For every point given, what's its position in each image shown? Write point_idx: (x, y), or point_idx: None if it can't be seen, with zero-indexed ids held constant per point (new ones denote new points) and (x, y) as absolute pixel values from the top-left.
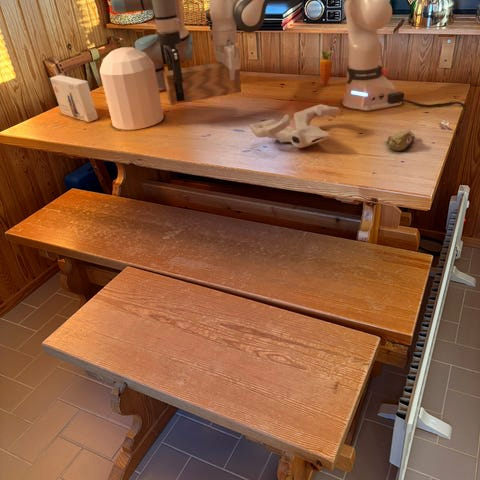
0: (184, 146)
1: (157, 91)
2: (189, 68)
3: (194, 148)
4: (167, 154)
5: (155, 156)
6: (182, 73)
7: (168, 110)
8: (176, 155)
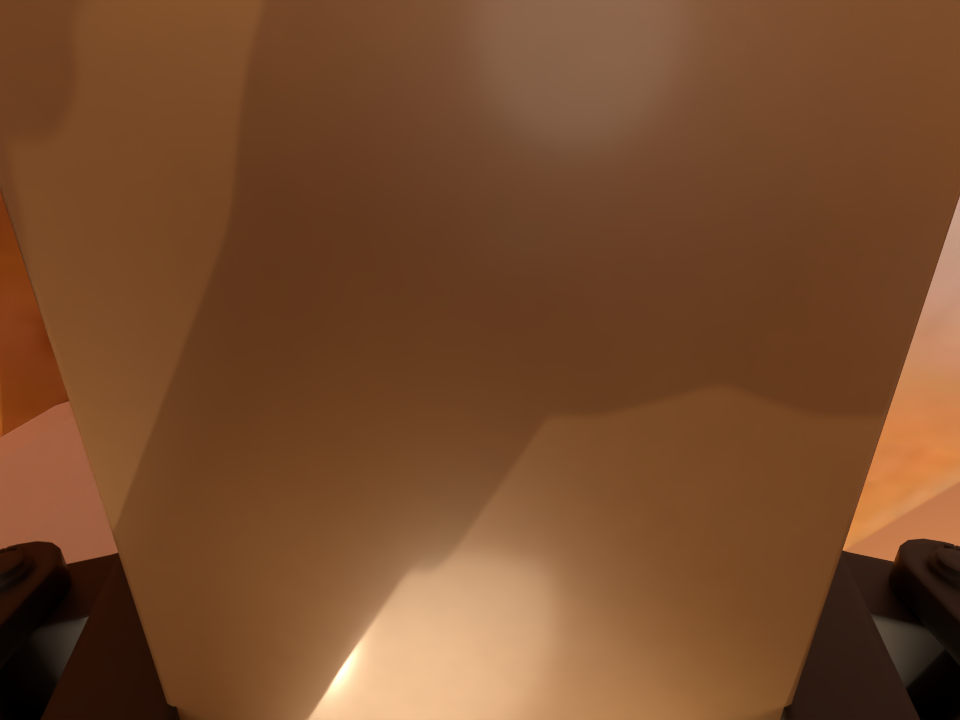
0: None
1: (79, 558)
2: (291, 218)
3: (932, 323)
4: (879, 486)
5: (851, 544)
6: (805, 617)
7: (26, 320)
8: (937, 446)
